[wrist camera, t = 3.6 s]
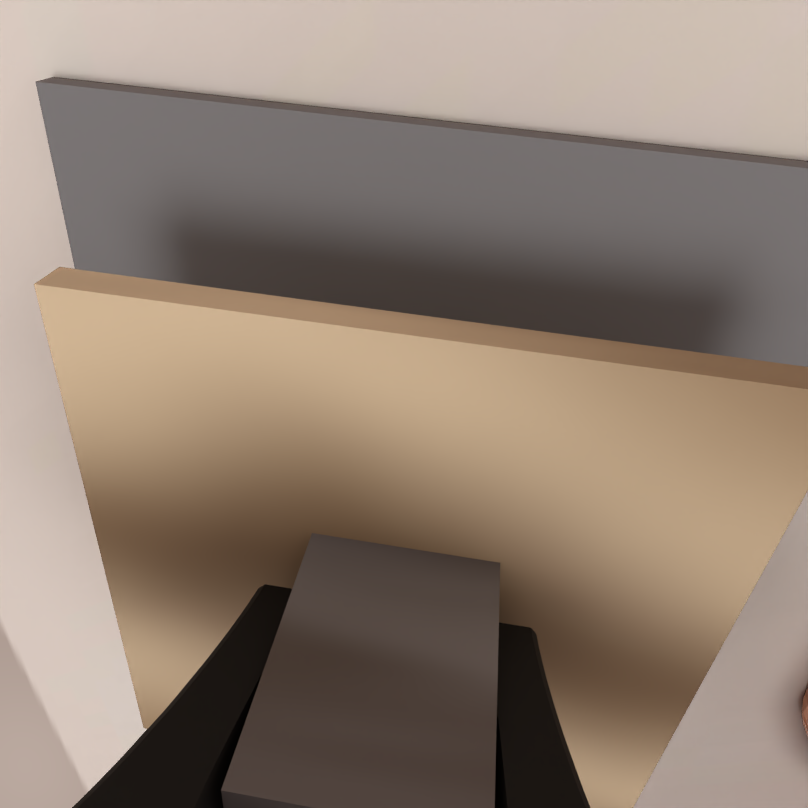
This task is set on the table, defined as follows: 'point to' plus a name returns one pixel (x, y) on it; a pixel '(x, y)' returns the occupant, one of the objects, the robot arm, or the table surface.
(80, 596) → the table surface
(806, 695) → the bowl
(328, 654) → the lid
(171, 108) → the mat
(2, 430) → the table surface
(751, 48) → the table surface
